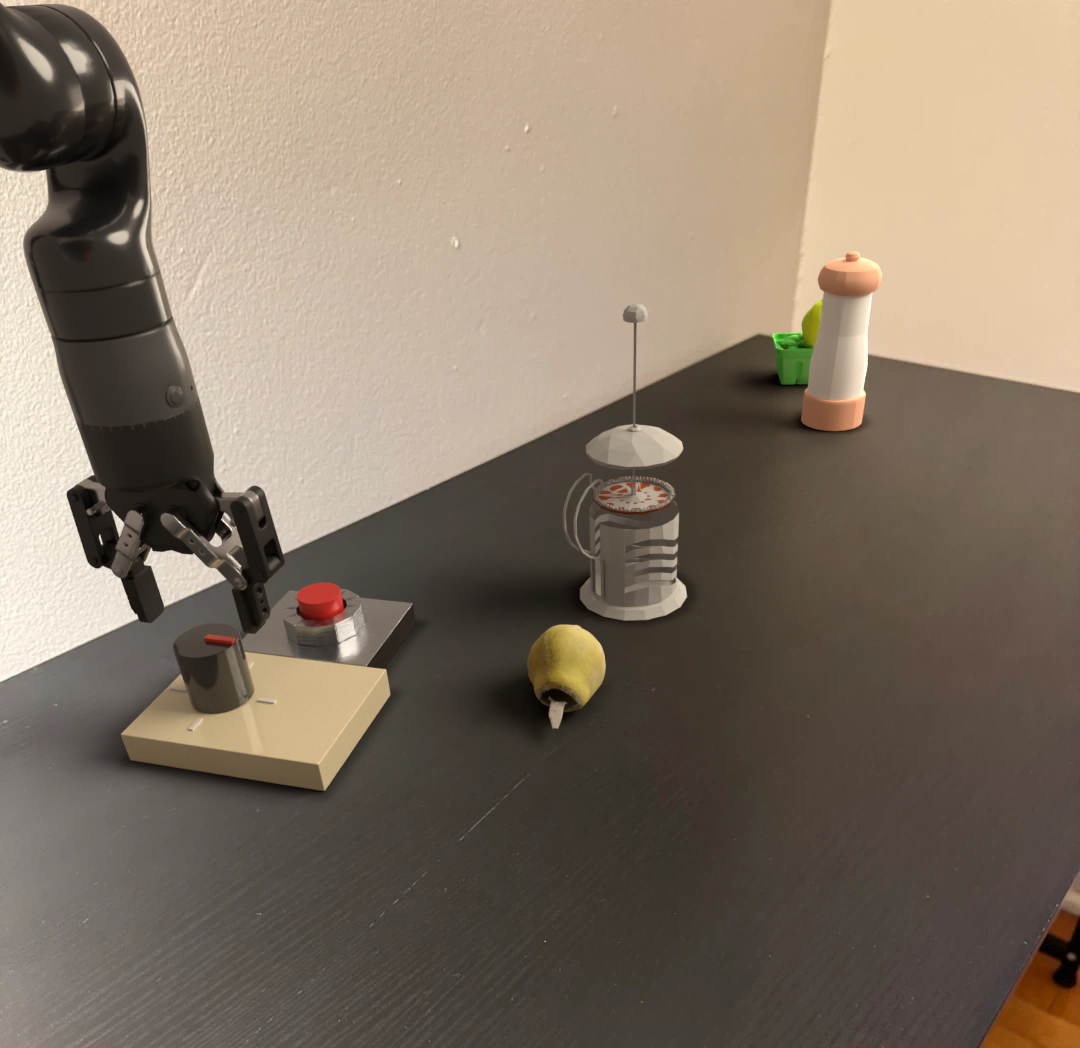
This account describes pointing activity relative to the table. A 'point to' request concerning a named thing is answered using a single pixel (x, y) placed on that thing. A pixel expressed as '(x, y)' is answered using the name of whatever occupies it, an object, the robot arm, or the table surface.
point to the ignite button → (320, 601)
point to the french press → (617, 575)
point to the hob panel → (266, 723)
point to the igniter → (336, 632)
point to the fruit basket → (797, 348)
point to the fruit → (565, 669)
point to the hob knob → (214, 667)
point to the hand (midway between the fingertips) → (203, 622)
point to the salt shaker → (841, 345)
